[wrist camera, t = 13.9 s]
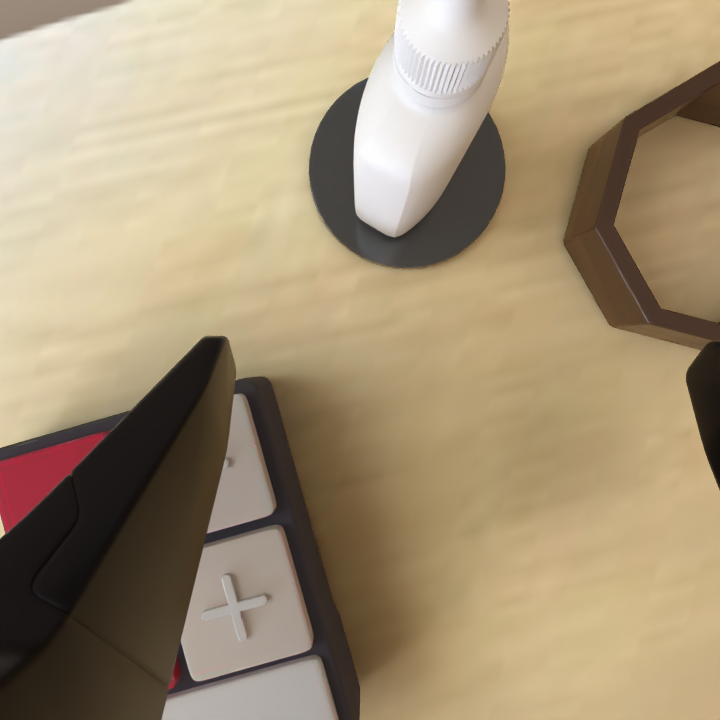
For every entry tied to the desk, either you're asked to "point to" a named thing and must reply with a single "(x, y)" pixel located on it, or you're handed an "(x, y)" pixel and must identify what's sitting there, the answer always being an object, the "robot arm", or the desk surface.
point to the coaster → (440, 225)
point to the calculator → (232, 575)
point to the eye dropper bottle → (425, 106)
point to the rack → (599, 208)
